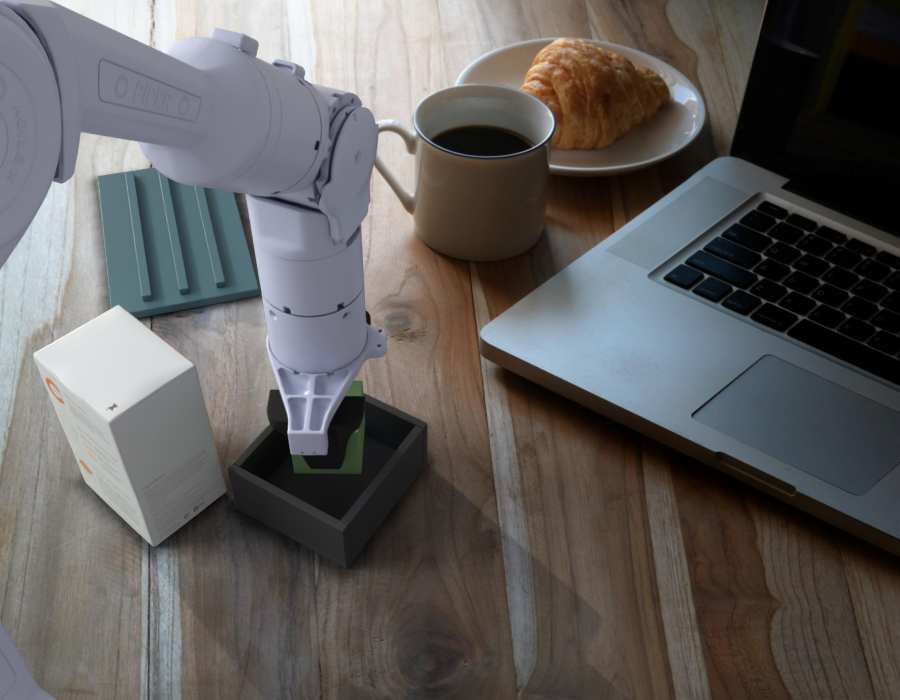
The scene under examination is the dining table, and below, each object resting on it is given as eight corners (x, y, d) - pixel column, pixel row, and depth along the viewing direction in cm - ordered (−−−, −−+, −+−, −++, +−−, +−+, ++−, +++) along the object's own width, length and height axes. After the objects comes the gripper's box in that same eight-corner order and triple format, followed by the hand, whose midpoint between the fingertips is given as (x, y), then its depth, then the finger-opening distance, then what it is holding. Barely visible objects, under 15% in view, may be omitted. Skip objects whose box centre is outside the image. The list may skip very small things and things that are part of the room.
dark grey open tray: (346, 569, 61) (342, 531, 58) (235, 508, 64) (226, 469, 61) (427, 462, 67) (427, 422, 64) (322, 411, 70) (318, 371, 67)
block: (294, 473, 61) (287, 431, 58) (301, 421, 64) (295, 379, 61) (361, 474, 61) (358, 432, 58) (365, 422, 64) (362, 380, 61)
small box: (229, 492, 65) (198, 364, 56) (153, 550, 61) (107, 425, 52) (158, 430, 68) (118, 301, 59) (83, 482, 65) (27, 354, 56)
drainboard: (260, 295, 79) (258, 283, 78) (113, 323, 76) (109, 310, 75) (225, 163, 92) (223, 151, 91) (99, 182, 89) (95, 170, 88)
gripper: (378, 379, 47) (384, 529, 57) (389, 203, 57) (393, 356, 67) (237, 377, 47) (268, 528, 56) (273, 200, 57) (294, 354, 66)
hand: (328, 435), depth 62 cm, fingers closed on block, 4 cm apart
